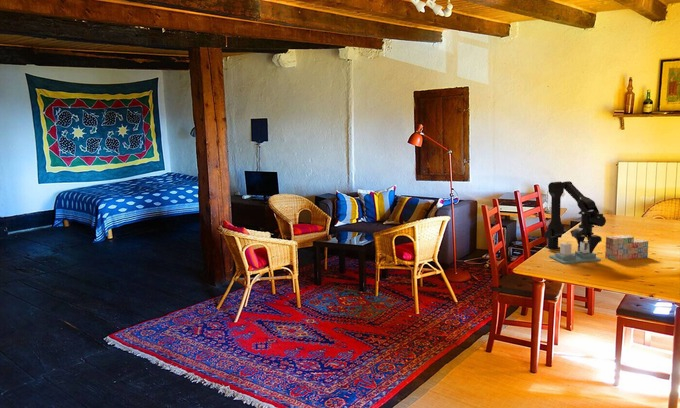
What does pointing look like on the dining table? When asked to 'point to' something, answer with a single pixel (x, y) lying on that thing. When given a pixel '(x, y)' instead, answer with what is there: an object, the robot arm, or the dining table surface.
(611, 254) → the stack of blocks
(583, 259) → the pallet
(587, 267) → the dining table surface
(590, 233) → the robot arm
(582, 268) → the dining table surface
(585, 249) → the steel billet
